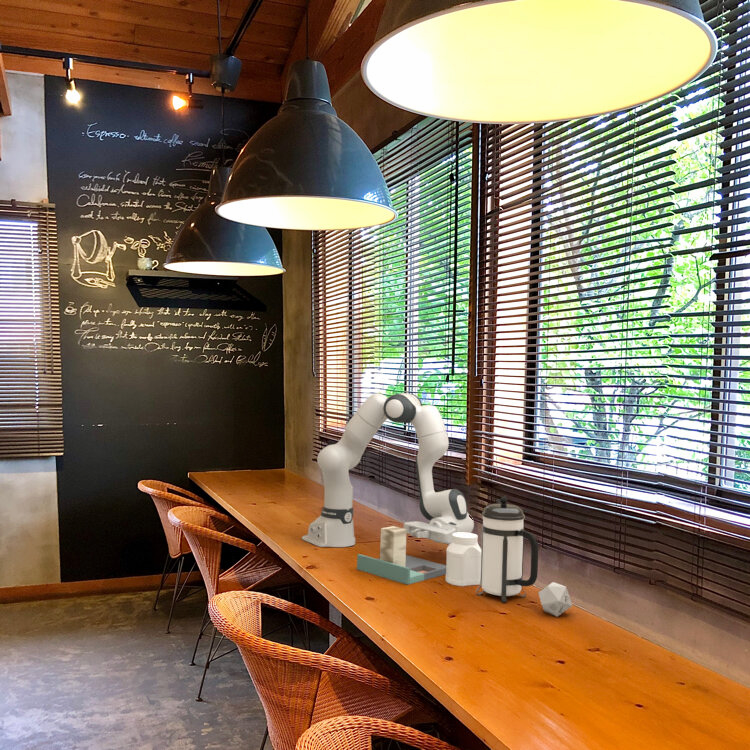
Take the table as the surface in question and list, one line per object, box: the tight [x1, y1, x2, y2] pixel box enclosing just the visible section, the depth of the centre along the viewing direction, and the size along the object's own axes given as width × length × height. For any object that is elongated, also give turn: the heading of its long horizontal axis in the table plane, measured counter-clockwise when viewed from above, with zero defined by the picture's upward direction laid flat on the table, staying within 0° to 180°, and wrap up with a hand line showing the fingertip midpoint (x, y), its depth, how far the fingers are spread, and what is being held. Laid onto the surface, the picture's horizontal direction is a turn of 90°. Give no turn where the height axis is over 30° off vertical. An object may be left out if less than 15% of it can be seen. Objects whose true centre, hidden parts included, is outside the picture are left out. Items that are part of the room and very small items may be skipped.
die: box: [538, 581, 573, 618], centre depth 197 cm, size 8×9×10 cm
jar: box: [445, 532, 482, 587], centre depth 226 cm, size 12×10×15 cm
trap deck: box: [356, 553, 446, 586], centre depth 236 cm, size 23×22×5 cm
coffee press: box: [475, 496, 539, 604], centre depth 211 cm, size 17×16×30 cm
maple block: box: [379, 525, 407, 567], centre depth 232 cm, size 6×6×13 cm
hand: (414, 534), depth 240 cm, fingers closed
